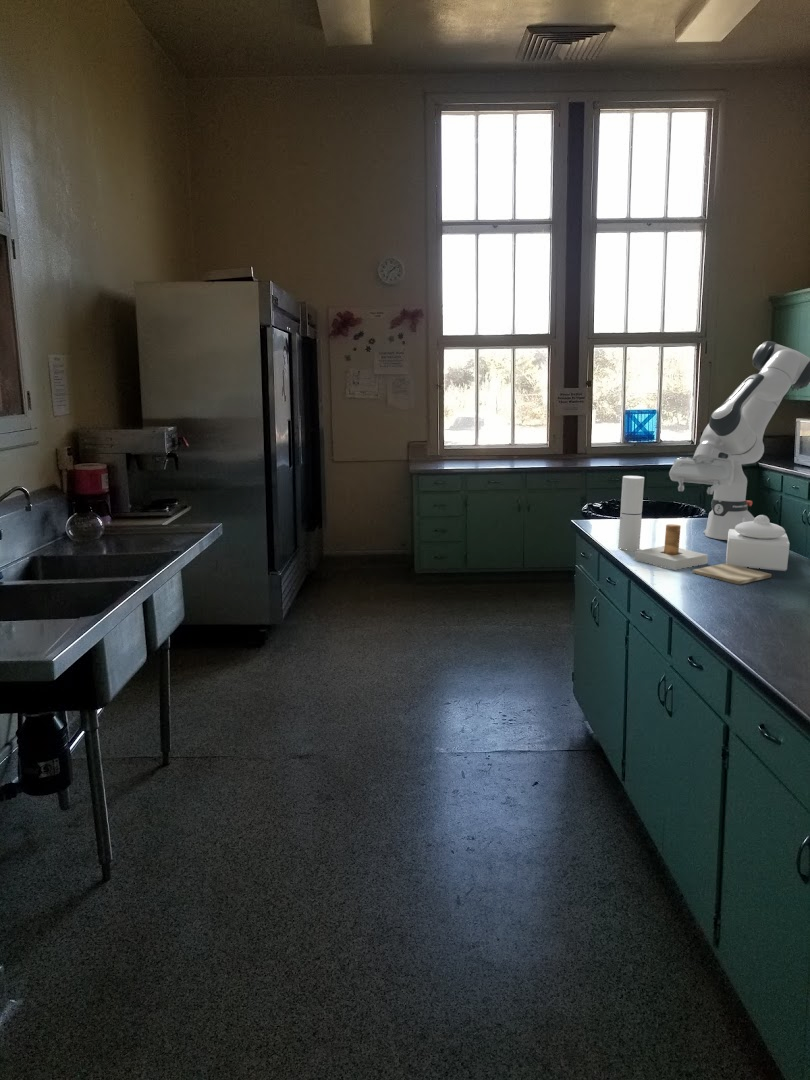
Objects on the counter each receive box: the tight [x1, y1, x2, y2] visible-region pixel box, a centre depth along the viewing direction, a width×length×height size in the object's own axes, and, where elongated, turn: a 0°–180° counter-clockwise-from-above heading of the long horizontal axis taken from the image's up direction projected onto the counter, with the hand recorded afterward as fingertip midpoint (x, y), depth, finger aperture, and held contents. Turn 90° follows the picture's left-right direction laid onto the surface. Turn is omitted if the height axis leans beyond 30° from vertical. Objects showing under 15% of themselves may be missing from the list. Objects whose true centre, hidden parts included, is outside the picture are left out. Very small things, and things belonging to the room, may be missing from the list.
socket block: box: [634, 545, 709, 571], centre depth 256 cm, size 16×16×3 cm
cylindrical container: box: [617, 475, 645, 551], centre depth 273 cm, size 7×7×25 cm
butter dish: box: [725, 514, 791, 572], centre depth 256 cm, size 18×18×16 cm
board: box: [692, 562, 772, 585], centre depth 240 cm, size 16×16×1 cm
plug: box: [664, 523, 682, 556], centre depth 255 cm, size 4×4×12 cm
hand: (694, 491), depth 260 cm, fingers open, 8 cm apart
